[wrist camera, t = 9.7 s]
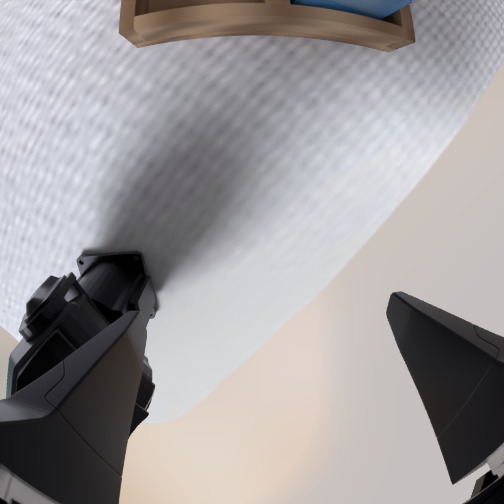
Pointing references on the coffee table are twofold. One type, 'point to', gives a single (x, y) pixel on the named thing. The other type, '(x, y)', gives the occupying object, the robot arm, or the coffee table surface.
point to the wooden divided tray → (258, 22)
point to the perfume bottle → (358, 6)
